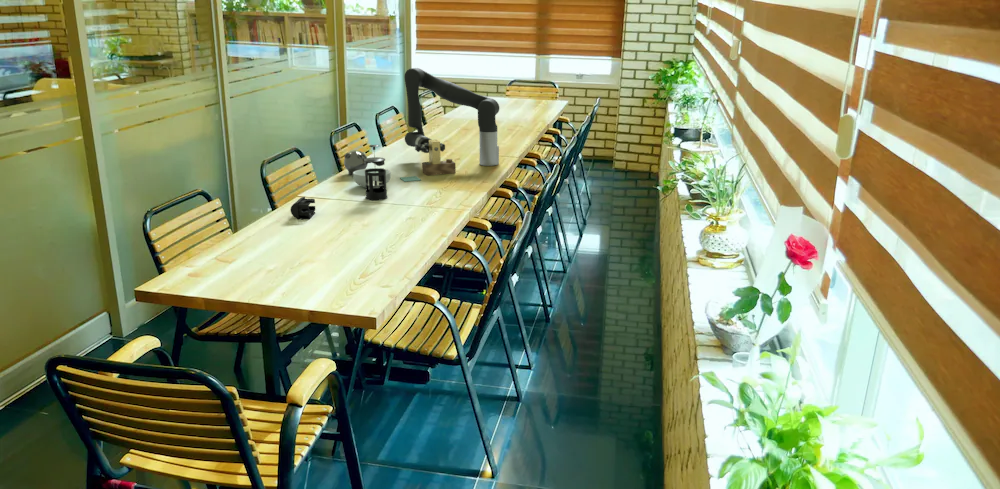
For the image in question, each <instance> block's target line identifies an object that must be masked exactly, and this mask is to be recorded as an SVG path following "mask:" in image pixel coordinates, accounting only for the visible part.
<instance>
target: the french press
mask: <svg viewBox="0 0 1000 489" xmlns="http://www.w3.org/2000/svg"><path fill="white" fill-rule="evenodd" d="M368 146H369V148H372V150H373V157H367V158H366V159H364V161H365V165H366V164H367V163H368V164H371V163H372V164H373V166H378V167H379V168H378V167H374V169H369V168H366V169H367V170H365V178H366V188H365V200H368V201H372V202H373V201H384V200H387V199H388V198H389V197H388V190H387V183H386V170H385V169H386V168H384V167H383V168H382V167H380V166H385V161H386V158H385V157H378V156H377V157H376V155H375V150H376V148H378V147H380V145H379V144H370V145H368ZM374 171H375V173H368V172H374ZM376 171H378V173H376ZM368 176H369V182H368ZM372 176H375V181H373V177H372ZM376 176H378V177H379V181H376ZM368 186H369V189H368ZM373 187H379V188H373Z"/></svg>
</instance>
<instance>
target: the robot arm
mask: <svg viewBox="0 0 1000 489" xmlns="http://www.w3.org/2000/svg"><path fill="white" fill-rule="evenodd" d="M404 82H405V83H404V85H405V90H406V97H407V115H408V116H407V118H408V120H407V122H408V126H409V127H410V128H413V129H416V131H409V132H407V133H406V134H405V135H404V142H405V144H406V145H407V146H409V147H413V148H414V150H415V151H416V152H417V153H420V152H422V153H424V154H429V140H432V138H430V137H428V136H426V135H425V133H424V128H423V123H422V121H423V116H422V114H423V113H422V107H421V102H420V97H419V95H420V94H419V92H420V91H419V90H420V89H419V88H422V89H425V90H429V91H431V92H433V93H434V94H436V95H437V96H438V97H440V98H441V99H443V100H444V101H447V102H450V103H452V104H455V105H456V104H457V105H460V106H464V107H465V106H466V107H470V108H473V109H475V110H477V125H478V127H479V128H478V130H479V131H478V132H479V133H478V134H479V135H478V136H479V165H481V166H486V167H487V166H489V167H491V166H492V167H493V166H497V165H499V164H500V163H499V162H500V146H499V145H498V124H496V115H497V114H498V113H499V112H500V105H499V103H498V101H496V99H494V98H491V97H488V96H483V95H481V94H478V93H475V92H474V91H471V90H469V89H467V88H465V87H463V86H461V85H458V84H456V83H454V82H451V81H448V80H445V79H443V78H439V77H436V76H434V75H433V74H431V73H428V72H427V71H425V70H424V69H421V68H418V67H413V68H409V69H407V70H406V71H405V73H404ZM445 150H446V145H445V143H442V142H440V152H445Z"/></svg>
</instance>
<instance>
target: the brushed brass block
mask: <svg viewBox="0 0 1000 489" xmlns="http://www.w3.org/2000/svg"><path fill="white" fill-rule="evenodd" d="M440 143H441V141H440V140H438V139H431V140H429V153H428V162H429V163H431V164H433V165H434V164H441V161H442V160H441V151H440Z"/></svg>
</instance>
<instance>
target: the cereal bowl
mask: <svg viewBox="0 0 1000 489" xmlns="http://www.w3.org/2000/svg"><path fill="white" fill-rule="evenodd" d="M374 168H375V167H374ZM374 168H373V167H371V168H366V169H361V170H357V171H354V172H353V174H352V177H353V180H354V182H355V183H356V184H357V185H359V186H361V187H363V188H365V189H366V178H365V170H367V169H374ZM384 169H385V170H386V184H387V183H388V182H390V180H391V176H392V174H391V173H392V172H391V170H389V169H386V168H384ZM368 173H375V171H374V172H368ZM376 173H378V171H376ZM372 177H373V181H375V176H372ZM376 181H379V177H378V176H376ZM368 182H369V176H368ZM373 188H379V187H373ZM368 189H369V186H368Z"/></svg>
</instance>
